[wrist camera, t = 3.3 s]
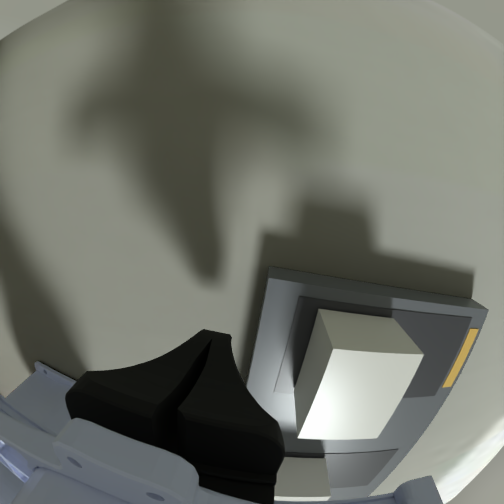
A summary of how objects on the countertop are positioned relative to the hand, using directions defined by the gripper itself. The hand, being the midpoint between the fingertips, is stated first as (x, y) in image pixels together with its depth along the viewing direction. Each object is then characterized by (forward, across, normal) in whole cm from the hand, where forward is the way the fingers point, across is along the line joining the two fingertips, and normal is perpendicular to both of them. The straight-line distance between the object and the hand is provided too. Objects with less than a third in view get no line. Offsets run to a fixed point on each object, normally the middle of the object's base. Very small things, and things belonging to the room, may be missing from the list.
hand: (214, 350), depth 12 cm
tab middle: (+1, -6, +12) cm, 13 cm away
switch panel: (+3, -9, +12) cm, 15 cm away
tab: (+1, -6, 0) cm, 6 cm away
